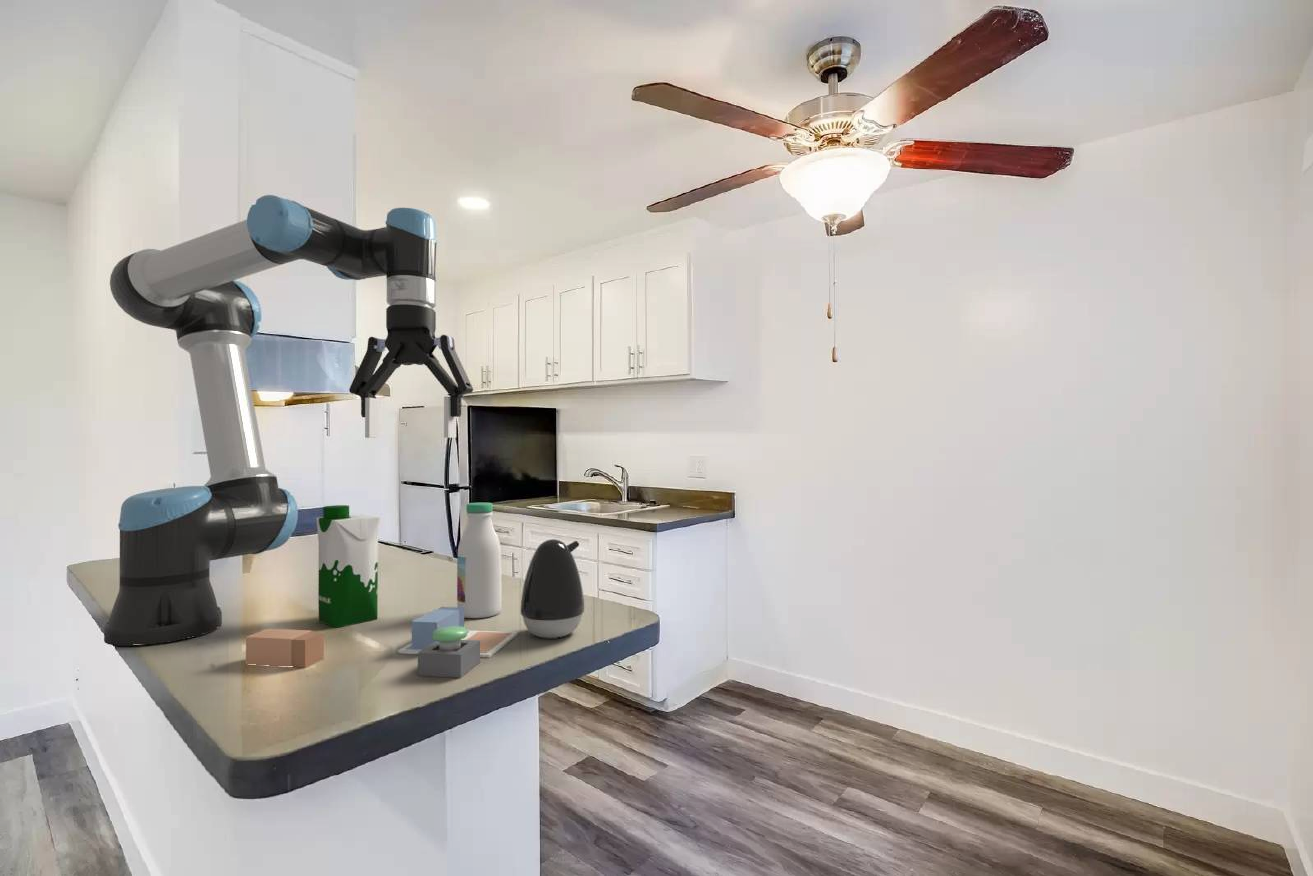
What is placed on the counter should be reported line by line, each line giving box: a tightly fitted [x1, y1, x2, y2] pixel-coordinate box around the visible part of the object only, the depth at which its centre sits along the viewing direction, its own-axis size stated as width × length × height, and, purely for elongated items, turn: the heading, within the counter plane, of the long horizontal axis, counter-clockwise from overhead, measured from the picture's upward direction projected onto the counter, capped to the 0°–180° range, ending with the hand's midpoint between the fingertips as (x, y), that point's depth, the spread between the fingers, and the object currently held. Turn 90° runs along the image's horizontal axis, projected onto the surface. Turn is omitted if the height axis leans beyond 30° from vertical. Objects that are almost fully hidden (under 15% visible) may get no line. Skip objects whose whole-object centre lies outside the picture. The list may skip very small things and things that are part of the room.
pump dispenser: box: [519, 539, 585, 639], centre depth 102 cm, size 10×10×15 cm
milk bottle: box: [456, 502, 502, 619], centre depth 114 cm, size 8×8×20 cm
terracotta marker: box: [245, 628, 325, 669], centre depth 89 cm, size 9×4×4 cm, turn 82°
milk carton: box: [315, 504, 381, 628], centre depth 110 cm, size 9×9×20 cm
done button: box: [433, 626, 468, 651], centre depth 86 cm, size 4×4×3 cm
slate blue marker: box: [411, 606, 465, 649], centre depth 97 cm, size 9×4×4 cm, turn 172°
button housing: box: [417, 640, 481, 679], centre depth 86 cm, size 6×6×3 cm
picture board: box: [397, 629, 518, 659], centre depth 96 cm, size 14×11×1 cm
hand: (410, 438), depth 102 cm, fingers open, 13 cm apart
